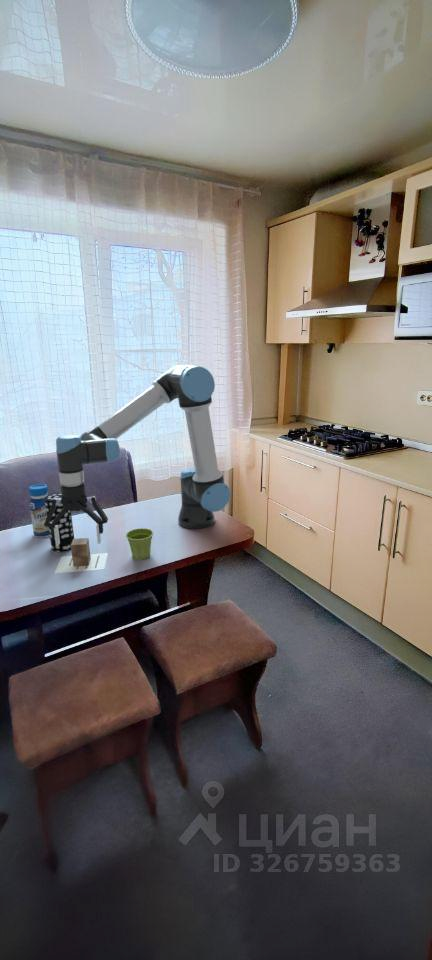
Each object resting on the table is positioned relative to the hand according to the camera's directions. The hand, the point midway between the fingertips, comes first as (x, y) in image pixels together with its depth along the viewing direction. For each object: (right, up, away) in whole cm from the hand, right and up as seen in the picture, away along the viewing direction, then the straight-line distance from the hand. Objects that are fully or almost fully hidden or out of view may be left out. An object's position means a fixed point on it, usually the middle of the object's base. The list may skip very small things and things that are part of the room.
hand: (78, 543), depth 147 cm
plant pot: (+20, -6, +7) cm, 22 cm away
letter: (0, -7, +2) cm, 8 cm away
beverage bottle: (-22, 0, +27) cm, 35 cm away
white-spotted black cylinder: (-10, -4, +15) cm, 18 cm away
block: (0, -7, +2) cm, 7 cm away
